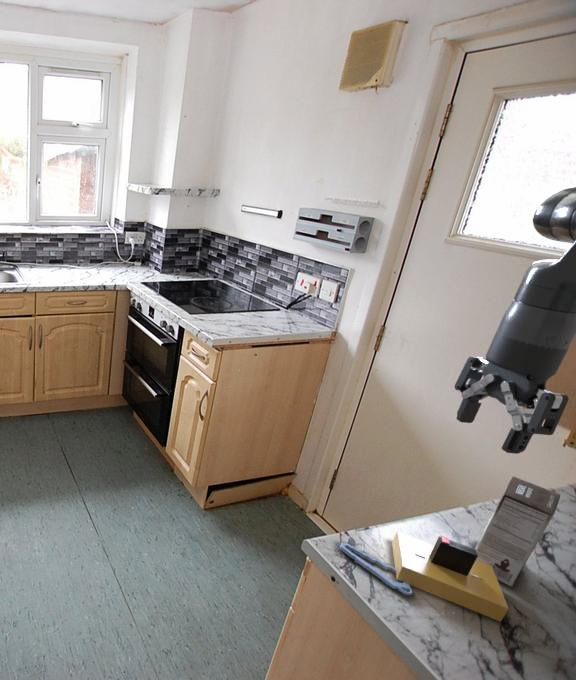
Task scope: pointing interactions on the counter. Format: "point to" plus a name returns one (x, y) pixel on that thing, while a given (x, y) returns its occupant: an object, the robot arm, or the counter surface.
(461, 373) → the robot arm
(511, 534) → the coffee box
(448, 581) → the tan flat wooden block
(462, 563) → the lock knob
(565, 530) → the counter surface
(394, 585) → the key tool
